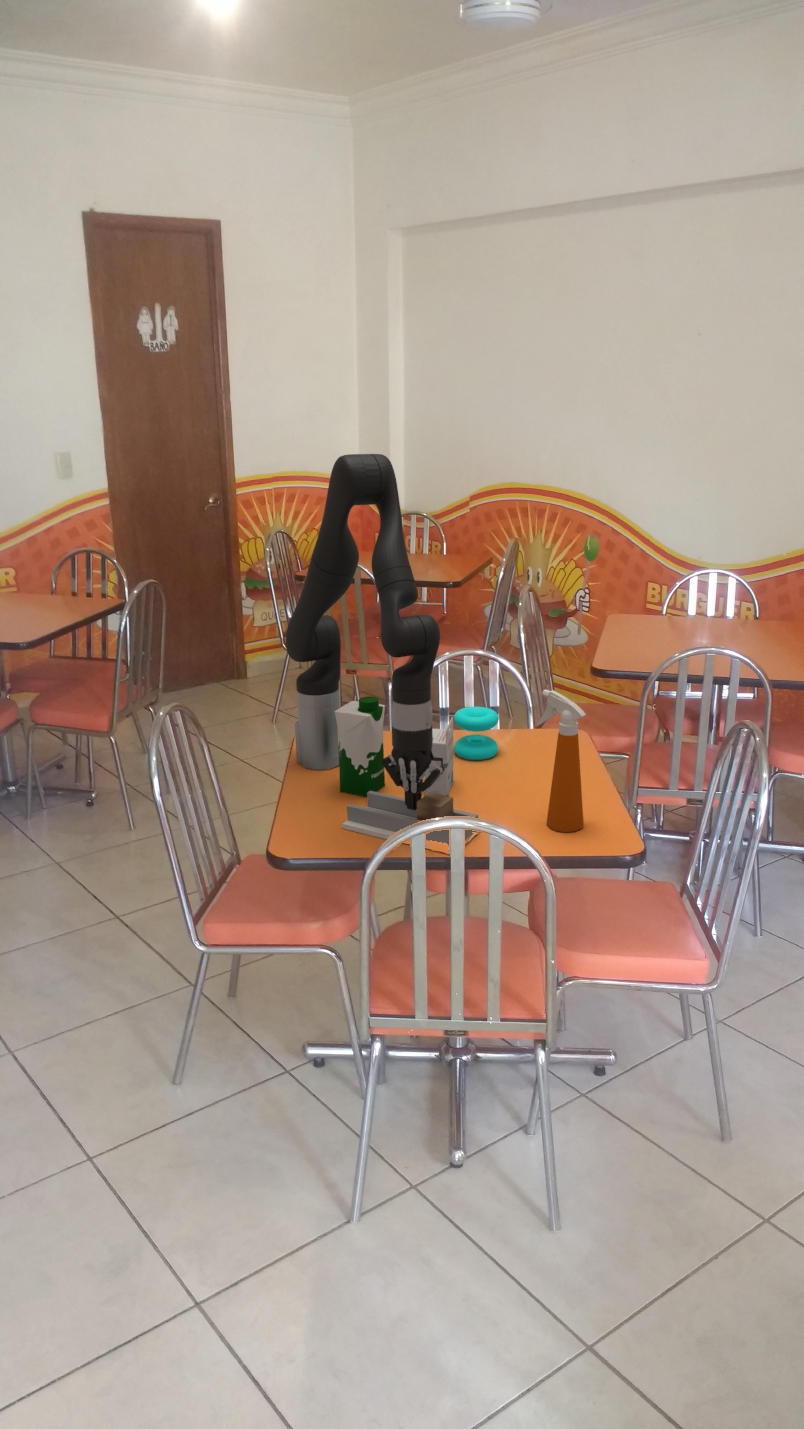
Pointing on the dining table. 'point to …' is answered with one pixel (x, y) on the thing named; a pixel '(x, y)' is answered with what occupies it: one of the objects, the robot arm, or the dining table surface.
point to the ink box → (442, 759)
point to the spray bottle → (565, 765)
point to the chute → (391, 818)
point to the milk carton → (361, 746)
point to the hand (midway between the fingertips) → (413, 808)
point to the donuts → (476, 722)
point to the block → (434, 806)
